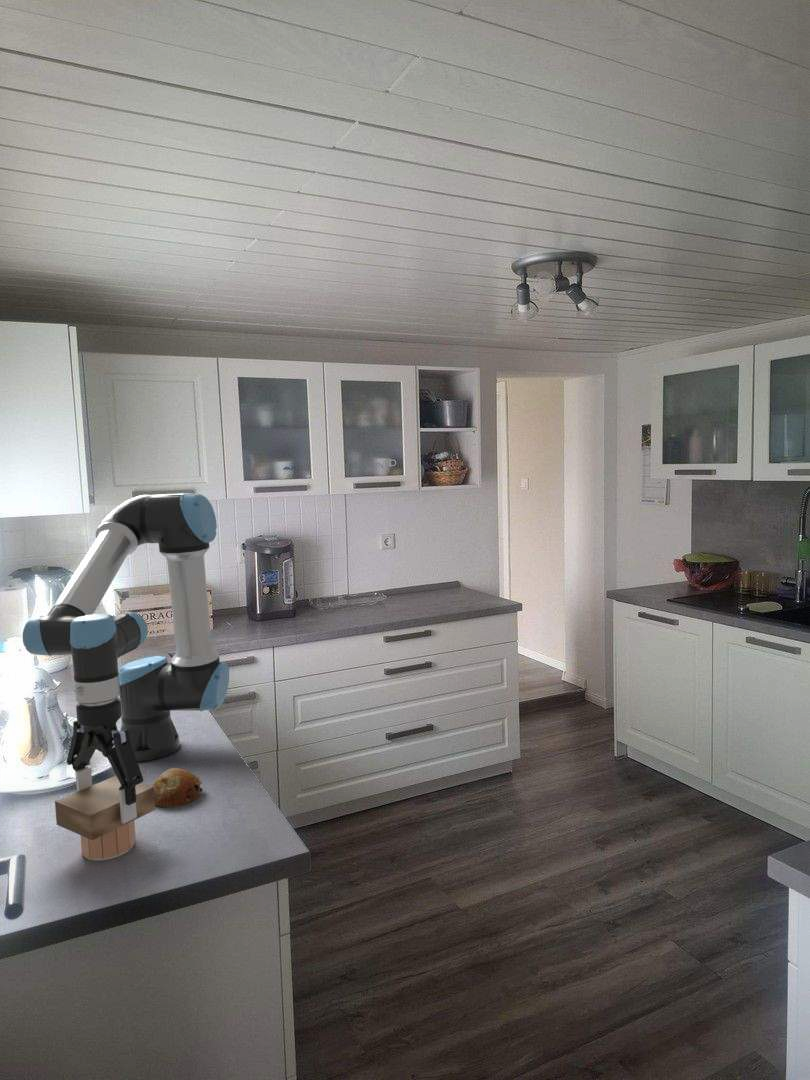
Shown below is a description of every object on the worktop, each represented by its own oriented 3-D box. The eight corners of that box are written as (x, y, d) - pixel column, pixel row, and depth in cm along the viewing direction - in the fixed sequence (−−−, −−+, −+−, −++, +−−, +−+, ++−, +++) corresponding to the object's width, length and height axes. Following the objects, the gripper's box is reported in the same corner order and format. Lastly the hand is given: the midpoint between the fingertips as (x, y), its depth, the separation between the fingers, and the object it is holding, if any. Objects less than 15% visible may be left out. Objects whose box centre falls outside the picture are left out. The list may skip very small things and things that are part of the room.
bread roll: (171, 802, 159) (154, 771, 158) (211, 783, 158) (194, 752, 158) (154, 824, 149) (136, 791, 149) (197, 803, 148) (179, 770, 148)
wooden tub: (116, 830, 139) (114, 801, 139) (145, 843, 134) (143, 812, 134) (71, 852, 132) (69, 821, 131) (101, 866, 127) (98, 834, 126)
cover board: (119, 796, 141) (118, 774, 140) (155, 809, 135) (153, 786, 134) (56, 824, 130) (54, 800, 130) (92, 840, 124) (90, 815, 124)
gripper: (41, 695, 134) (50, 802, 136) (121, 717, 120) (129, 837, 122) (78, 684, 140) (87, 787, 143) (158, 704, 126) (166, 819, 129)
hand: (106, 811), depth 133 cm, fingers open, 13 cm apart
